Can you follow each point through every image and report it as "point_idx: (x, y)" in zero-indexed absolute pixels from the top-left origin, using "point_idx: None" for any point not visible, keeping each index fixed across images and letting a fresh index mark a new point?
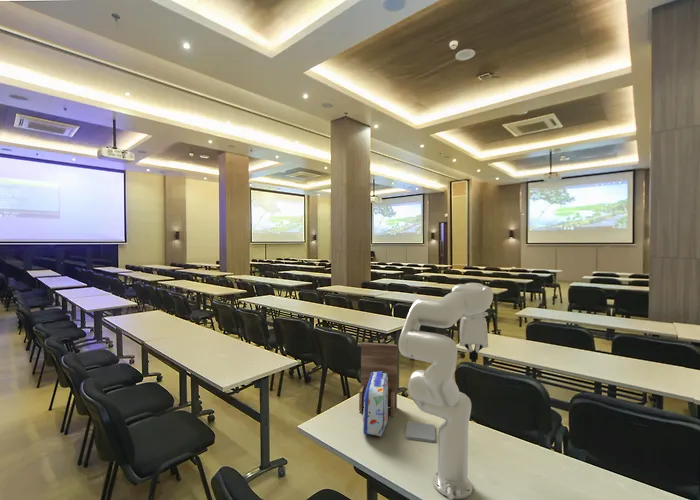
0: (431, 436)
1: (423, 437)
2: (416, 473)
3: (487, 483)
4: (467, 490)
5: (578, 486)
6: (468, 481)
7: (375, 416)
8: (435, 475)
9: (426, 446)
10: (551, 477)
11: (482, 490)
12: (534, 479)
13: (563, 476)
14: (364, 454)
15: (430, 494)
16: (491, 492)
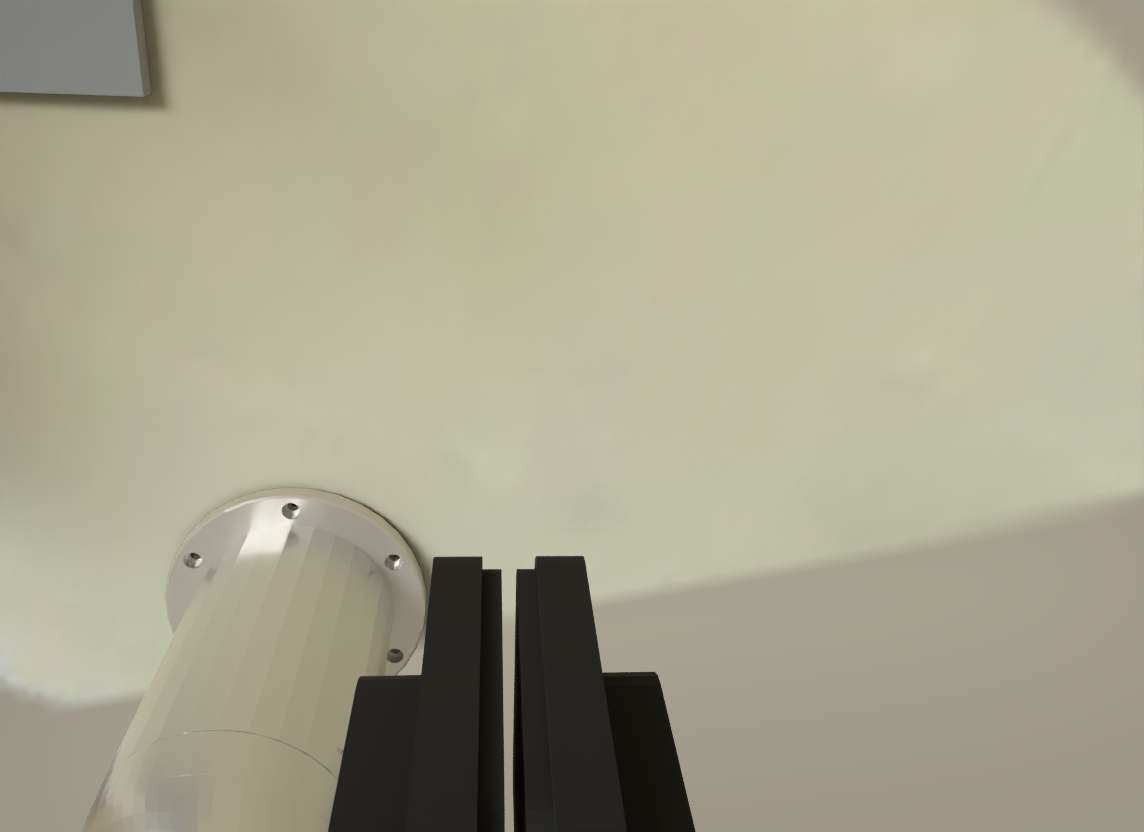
0: (95, 35)
1: (14, 70)
2: (46, 535)
3: (533, 531)
4: (389, 647)
5: (1119, 440)
6: (403, 584)
7: None
8: (178, 575)
9: (71, 178)
10: (994, 386)
11: None
12: (865, 430)
13: (1085, 358)
14: None
15: None
16: None
